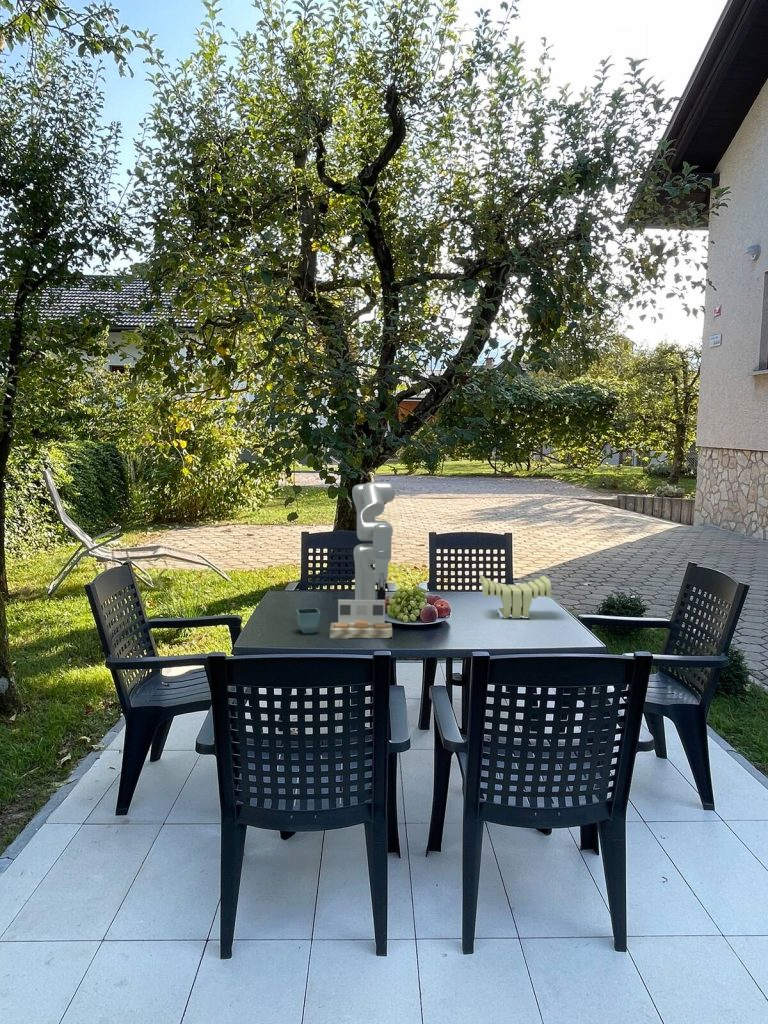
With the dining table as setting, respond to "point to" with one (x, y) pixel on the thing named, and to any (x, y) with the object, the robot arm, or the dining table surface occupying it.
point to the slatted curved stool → (516, 594)
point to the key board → (361, 631)
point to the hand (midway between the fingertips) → (381, 599)
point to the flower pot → (308, 620)
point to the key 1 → (341, 625)
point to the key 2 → (380, 625)
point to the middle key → (360, 623)
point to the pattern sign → (361, 611)
